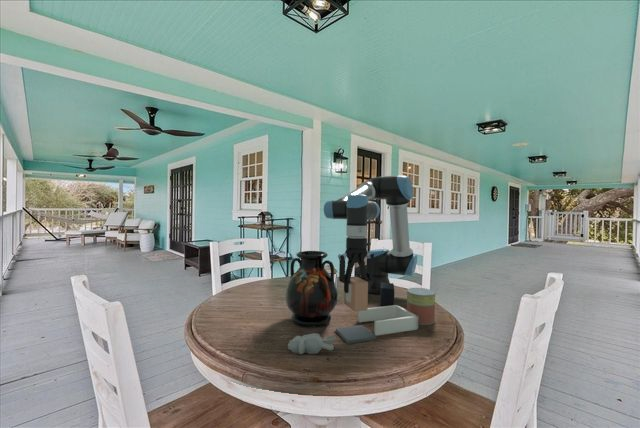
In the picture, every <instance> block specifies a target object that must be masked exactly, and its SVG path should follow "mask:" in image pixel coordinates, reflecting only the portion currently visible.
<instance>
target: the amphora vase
mask: <svg viewBox="0 0 640 428" xmlns="http://www.w3.org/2000/svg"><path fill="white" fill-rule="evenodd" d="M295 255H296V257H295V258H293V259H292V260H291V262H290V265H289V266H290V271H289V272H290V276H289V277H290V280H289V281H288V283H287V285H286V288H285V297H284V299H285V303H286V306H287V308H288V309H289V311H290V312H291V313H292V314H291V317H290V319H291V321H292V322H293V323H294V324H295V325H298V326H300V327H306V328H317V327H323V326H325V325H328V324H329V323H330V322H331V320H332V315H331V313H332V312H333V311H334V309H335V308H336V306H337V304H338V300H339V299H338V296H339V295H338V287H337V286H336V282H335V266H334V263H333V262H332V261H331V260H330V259H329V260H324V259H325V258H327V257H328V253H327V252H325V251H321V250H320V251H318V250H304V251H303V250H302V251H299V252H297V253H296V254H295ZM296 262H297V263H298V264H299V268H298V269H297V270H296V271H295V263H296ZM326 264H327V265H329V268H330V273H329V272H328V271H327V269H326V268H325V265H326Z"/></svg>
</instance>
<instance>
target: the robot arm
mask: <svg viewBox="0 0 640 428" xmlns="http://www.w3.org/2000/svg"><path fill="white" fill-rule="evenodd" d="M413 196H414V187H413V182H412V179H410V177H409V176H407V175H388V176H387V175H385V176H376V177H372V178H370V179H367V180H365V181H363V182H361V183H360V184H359V185H358V186H357V188H355V189H354V190H352V191H350V192H348V193H346V194H345V195H344V196H342V197H340V198H338V199H337V200H327V201H326V202H325V203H324V205H323V215H324V217H325V218H327V219H331V220H346V227H345V228H346V229H345V230H346V231H345V233H346V238H345V247H346V249H345V252H344V253H342V254H338V255H337V257H338V261H339V265H338V267H339V269H338V272H339V273H338V275H339V276H338V280H339V281H338V282H340V283H342V284H343V291H344V292H345V293H346V301H348V302H349V303H350V302H351V284H350V283H349V282H350V278H351V277H352V273H353V270H354V266H355V265H356V263H357V264H358V268H359V271H360V278H361V279H363V280H365V281H367V282H368V294H374V295H380V294H381V282H383V283H391V282H390V279H389V274H391V275H398V276H403V277H405V276H406V277H411V276H413V275H414V274H415V272H416V268H417V264H418V263H417V262H418V256H417V254H415V253H414V251H413V248H411V247H410V233H409V231H410V230H409V219H408V217H409V216H408V204H410V203H411V201H410V200H412V199H413V198H414V197H413ZM373 200H385V204H386V205H387V206H388V207H389V218H390V228H391V239H392V240H391V241H392V242H391V243H392V248H391V250H390V249H388V248H379V249H370V250H369V251H368V249H367V248H368V238H367V236H368V221H372V220H375V219H376V218H378V217H379V216H380V212H381V210H380V205H379V204H378V203H377V202H376V201H373ZM365 259H366V261H365ZM346 260H347V266H346ZM365 265H366V266H365ZM344 292H343V293H344Z"/></svg>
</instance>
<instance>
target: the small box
mask: <svg viewBox="0 0 640 428" xmlns="http://www.w3.org/2000/svg"><path fill="white" fill-rule="evenodd" d="M379 295H380V296H379V297H380V298H379V299H380V300H379V307H383V306H392V305H395V284H394V283H393V282H392V283H391V282H390V283H383V282H381V294H379Z"/></svg>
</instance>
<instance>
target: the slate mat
mask: <svg viewBox="0 0 640 428" xmlns="http://www.w3.org/2000/svg"><path fill="white" fill-rule="evenodd" d="M335 332H336V333H337V334H338V335H339V336H340V338H341V339H342V340H343V341H344V342H346V343H347V344H355V343H360V342H366V341H374V340H377V336H376V335H374V333H372V332H371V331H370V330H368V329H367V328H366V327H365V326H364V325H363V324H361V325H360V324H359V325H353V326H351V325H350V326H344V327H337V328H335Z"/></svg>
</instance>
